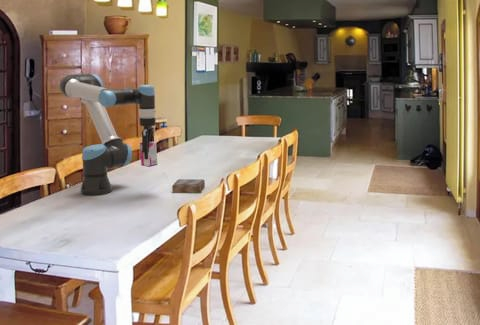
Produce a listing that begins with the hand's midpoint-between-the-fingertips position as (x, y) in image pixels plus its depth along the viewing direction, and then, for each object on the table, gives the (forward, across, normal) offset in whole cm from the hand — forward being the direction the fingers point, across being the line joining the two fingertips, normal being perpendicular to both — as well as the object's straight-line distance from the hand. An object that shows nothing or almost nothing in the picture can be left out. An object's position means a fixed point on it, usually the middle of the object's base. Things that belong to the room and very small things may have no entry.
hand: (149, 163), depth 281 cm
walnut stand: (+15, +11, -17) cm, 25 cm away
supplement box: (+1, 0, 0) cm, 1 cm away
